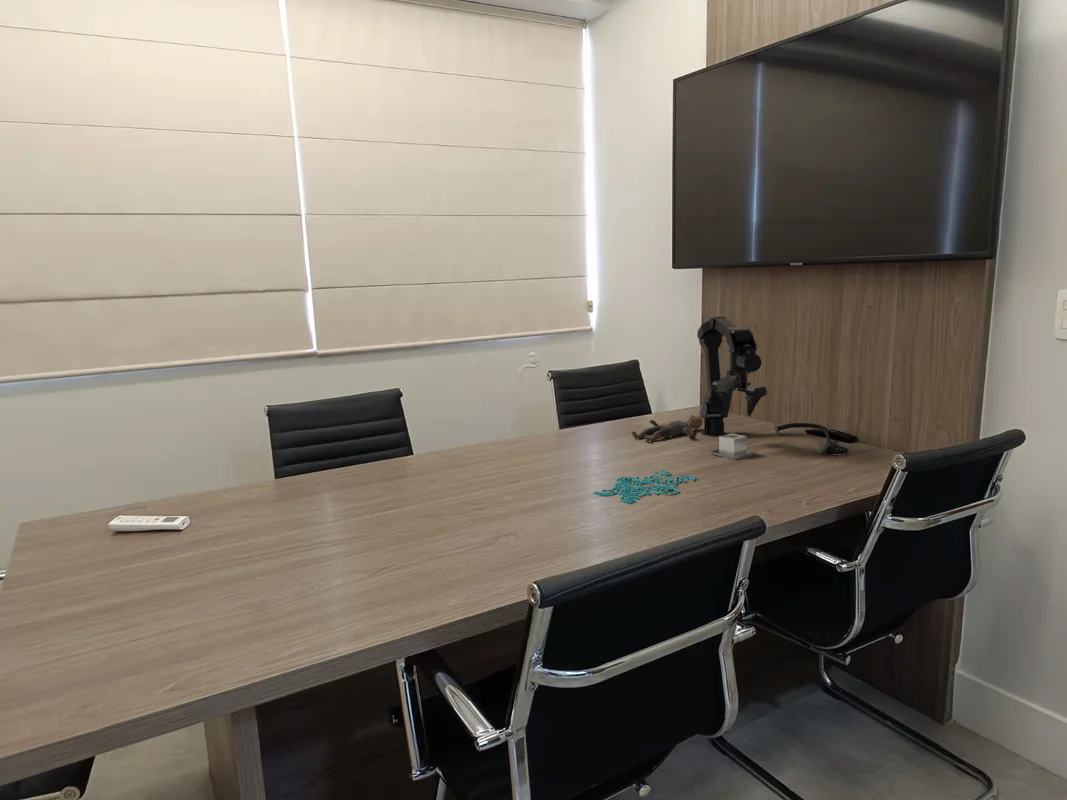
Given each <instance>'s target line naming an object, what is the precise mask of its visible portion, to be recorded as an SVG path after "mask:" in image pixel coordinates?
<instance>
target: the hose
mask: <svg viewBox="0 0 1067 800" xmlns="http://www.w3.org/2000/svg"><path fill="white" fill-rule="evenodd" d="M794 428H809V429H816V430H817V429H818V430H822V432H823V433H824V435H825V437H824V438H823V439H822V440H821V442H820V444H819V447H818V449H817V454H818V453H819V455H821V454H822V455H824V453H825V454H828V455H830V454H842V455H844V454H843V453H846V454H848V453H849V452H850V451H849V450H850V449H849V448H848V447H846V446H842V445H838V444H836V443H835V442H833V441H832V439H831V438H830V434H829V428H827V427H826V426H824V425H821V424H818V423H817V424H816V423H810V422H807V423H806V422H793V423H791V422H790V423H786V424H781V425H778V424H777V423H776V422H775V423H774V430H775V434H776V436H779V434H780V431H783V430H787V429H794ZM837 448H838V449H837ZM840 449H841V450H840ZM847 452H848V453H847Z"/></svg>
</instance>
